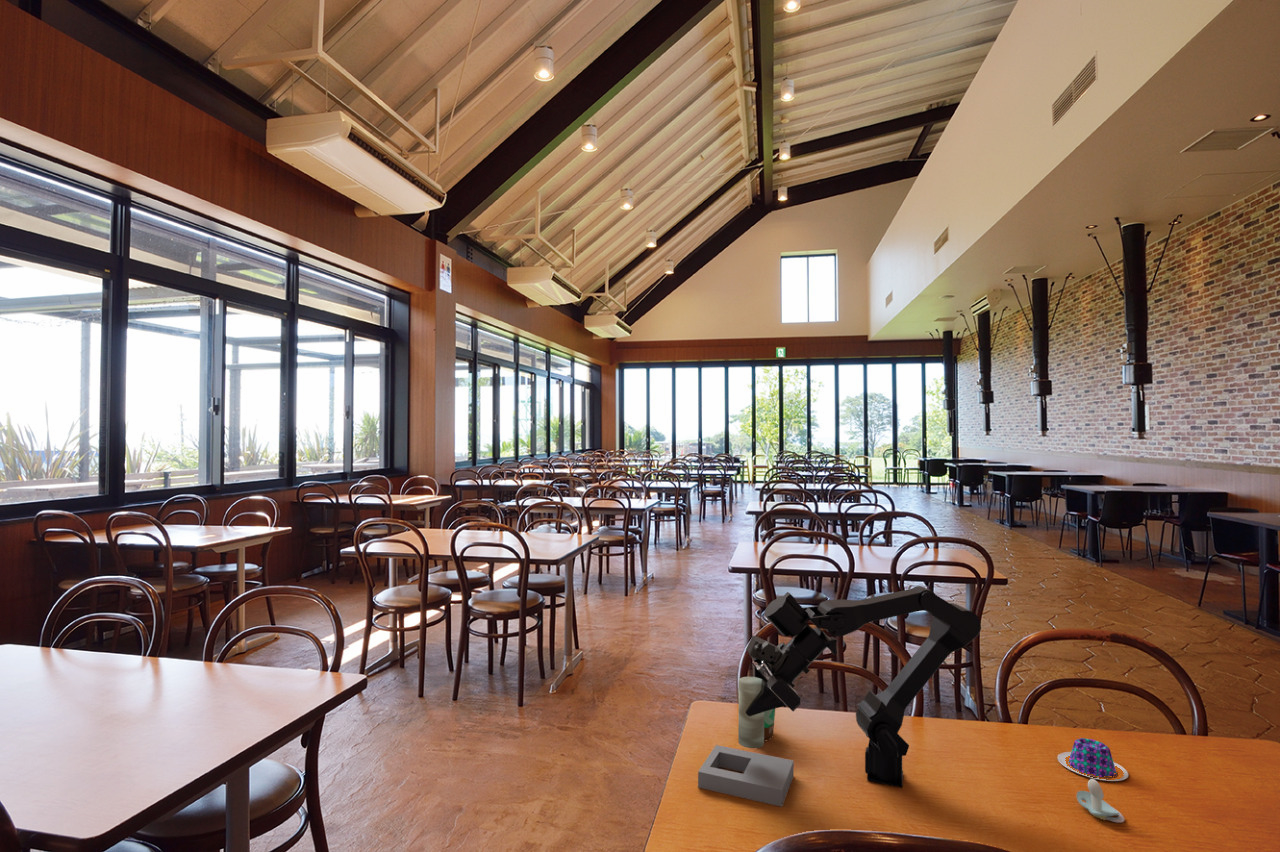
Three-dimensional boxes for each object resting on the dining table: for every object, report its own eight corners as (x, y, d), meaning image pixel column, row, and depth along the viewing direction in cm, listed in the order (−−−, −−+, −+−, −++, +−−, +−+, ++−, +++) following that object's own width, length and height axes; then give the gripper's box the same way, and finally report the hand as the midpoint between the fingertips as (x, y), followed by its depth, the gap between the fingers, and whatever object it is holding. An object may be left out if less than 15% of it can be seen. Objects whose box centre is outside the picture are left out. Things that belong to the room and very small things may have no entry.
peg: (766, 739, 129) (766, 678, 129) (760, 750, 125) (761, 687, 125) (741, 734, 131) (742, 675, 131) (735, 745, 127) (735, 683, 127)
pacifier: (1102, 804, 120) (1071, 803, 120) (1103, 770, 121) (1072, 769, 120) (1134, 827, 113) (1100, 826, 113) (1135, 791, 113) (1101, 790, 113)
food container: (778, 748, 140) (779, 701, 141) (750, 745, 142) (750, 699, 142) (778, 724, 152) (778, 681, 153) (751, 721, 154) (752, 679, 154)
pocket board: (793, 775, 129) (793, 760, 129) (782, 806, 118) (782, 790, 118) (715, 759, 135) (715, 744, 135) (698, 787, 124) (698, 771, 124)
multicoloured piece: (1127, 766, 135) (1127, 741, 135) (1129, 791, 125) (1129, 764, 125) (1059, 749, 142) (1059, 725, 142) (1055, 772, 132) (1055, 746, 132)
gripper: (761, 611, 138) (709, 663, 137) (783, 637, 119) (723, 698, 119) (797, 648, 138) (745, 700, 137) (825, 680, 119) (765, 741, 119)
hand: (744, 708), depth 128 cm, fingers closed on peg, 5 cm apart
